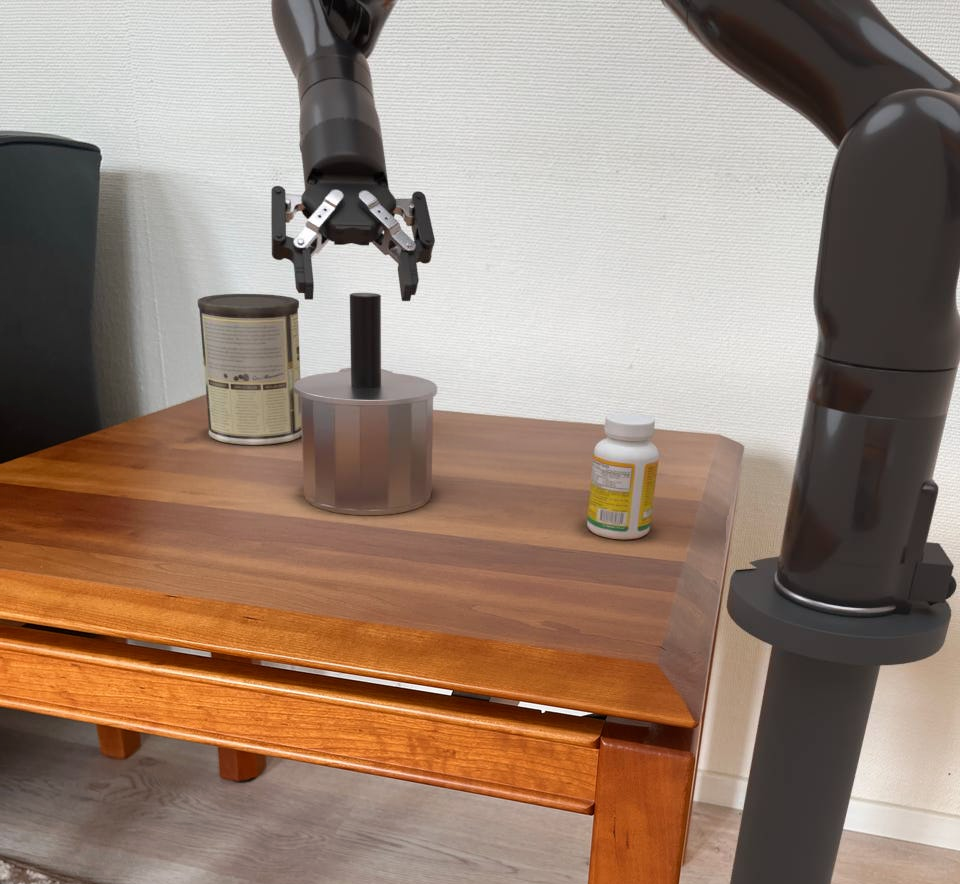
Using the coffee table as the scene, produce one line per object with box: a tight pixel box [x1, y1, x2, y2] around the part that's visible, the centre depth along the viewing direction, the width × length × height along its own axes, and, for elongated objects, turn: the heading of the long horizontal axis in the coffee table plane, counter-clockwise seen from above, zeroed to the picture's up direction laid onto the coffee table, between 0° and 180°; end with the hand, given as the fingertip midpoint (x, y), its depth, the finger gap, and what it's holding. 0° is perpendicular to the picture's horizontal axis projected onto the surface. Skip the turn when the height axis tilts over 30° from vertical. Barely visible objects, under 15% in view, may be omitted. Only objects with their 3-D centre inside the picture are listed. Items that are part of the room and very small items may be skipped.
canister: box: [300, 396, 434, 516], centre depth 91 cm, size 11×11×10 cm
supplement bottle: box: [586, 412, 660, 541], centre depth 85 cm, size 5×5×10 cm
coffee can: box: [197, 293, 302, 446], centre depth 109 cm, size 10×10×14 cm
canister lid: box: [294, 292, 438, 406], centre depth 87 cm, size 12×12×9 cm
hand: (359, 294), depth 89 cm, fingers open, 8 cm apart
